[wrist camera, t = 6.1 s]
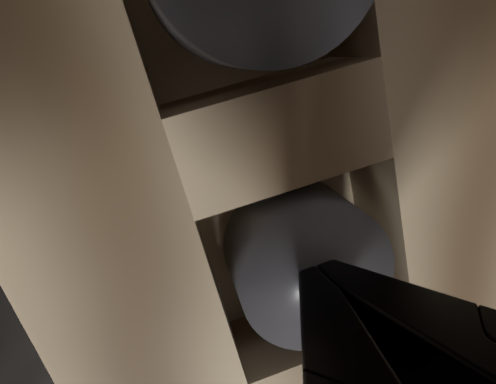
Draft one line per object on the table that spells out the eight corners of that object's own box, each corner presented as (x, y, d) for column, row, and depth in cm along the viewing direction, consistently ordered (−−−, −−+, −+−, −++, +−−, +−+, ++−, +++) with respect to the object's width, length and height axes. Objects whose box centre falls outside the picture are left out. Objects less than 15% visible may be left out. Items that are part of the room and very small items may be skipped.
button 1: (242, 316, 11) (261, 372, 9) (207, 200, 10) (220, 237, 8) (359, 274, 12) (402, 319, 10) (339, 159, 11) (384, 182, 9)
